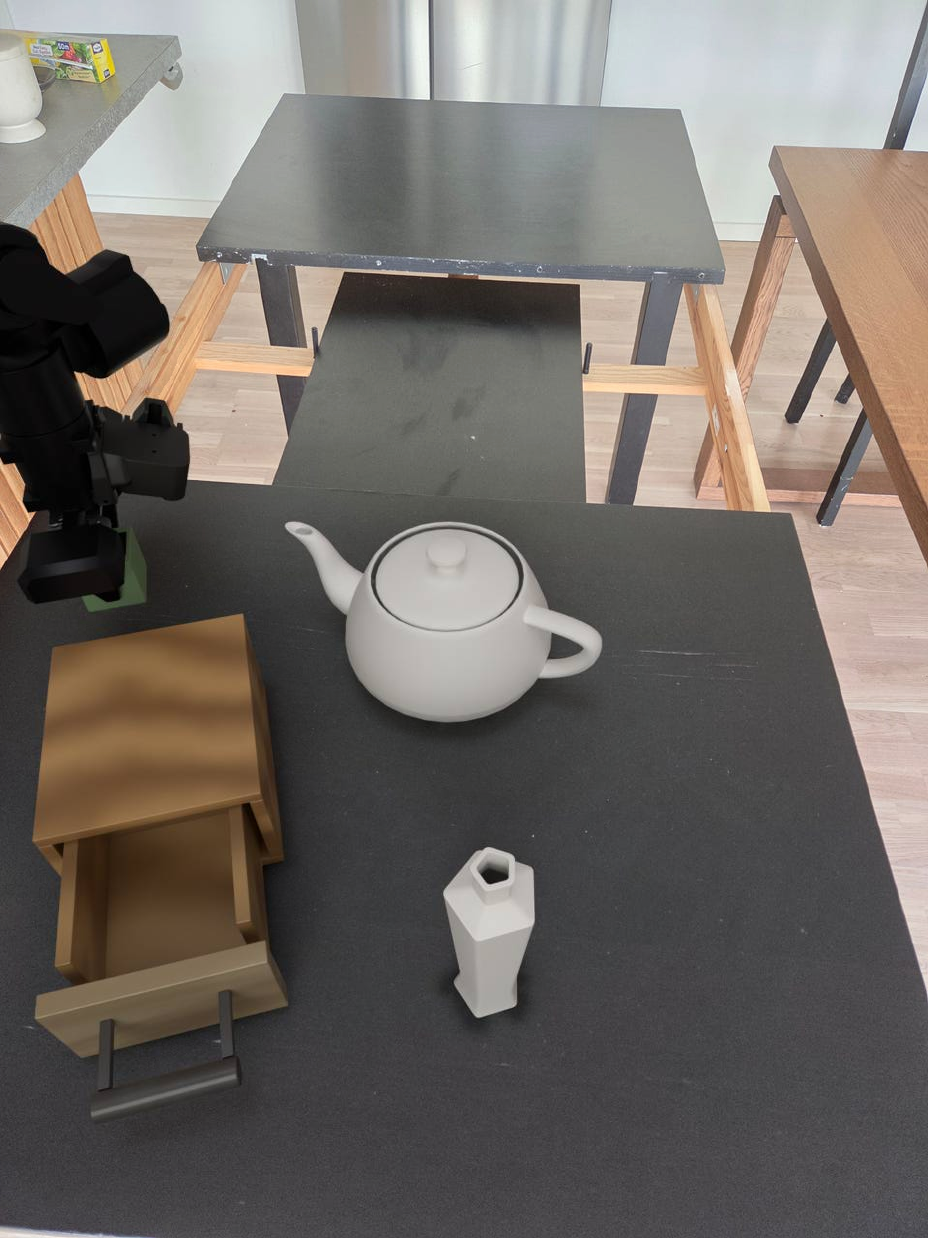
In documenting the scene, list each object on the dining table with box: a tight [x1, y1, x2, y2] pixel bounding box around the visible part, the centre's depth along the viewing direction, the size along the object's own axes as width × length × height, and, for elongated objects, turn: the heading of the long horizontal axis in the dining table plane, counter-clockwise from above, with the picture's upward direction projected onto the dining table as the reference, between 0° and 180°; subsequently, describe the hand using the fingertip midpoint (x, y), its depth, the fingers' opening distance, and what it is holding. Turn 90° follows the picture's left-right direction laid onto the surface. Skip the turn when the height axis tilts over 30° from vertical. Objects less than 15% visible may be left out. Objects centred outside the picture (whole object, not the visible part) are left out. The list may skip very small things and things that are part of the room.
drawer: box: [34, 802, 289, 1126], centre depth 48 cm, size 18×11×7 cm, turn 14°
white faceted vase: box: [442, 846, 536, 1019], centre depth 44 cm, size 5×4×15 cm
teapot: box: [284, 521, 603, 723], centre depth 62 cm, size 25×16×12 cm, turn 66°
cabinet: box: [31, 613, 285, 877], centre depth 56 cm, size 15×13×9 cm
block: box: [81, 525, 148, 613], centre depth 66 cm, size 4×4×4 cm
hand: (114, 579), depth 67 cm, fingers closed on block, 4 cm apart
